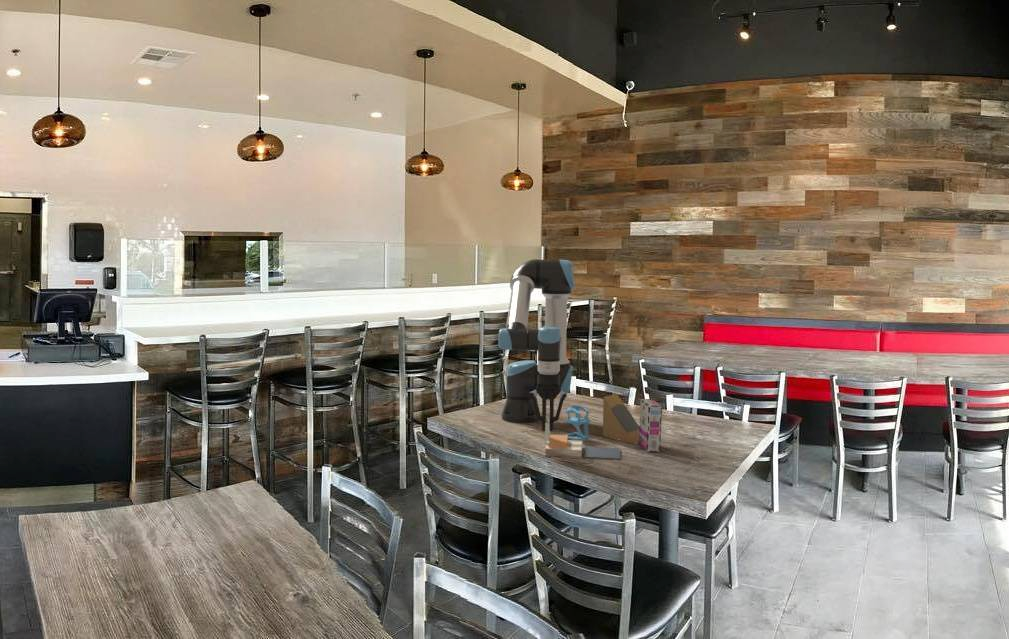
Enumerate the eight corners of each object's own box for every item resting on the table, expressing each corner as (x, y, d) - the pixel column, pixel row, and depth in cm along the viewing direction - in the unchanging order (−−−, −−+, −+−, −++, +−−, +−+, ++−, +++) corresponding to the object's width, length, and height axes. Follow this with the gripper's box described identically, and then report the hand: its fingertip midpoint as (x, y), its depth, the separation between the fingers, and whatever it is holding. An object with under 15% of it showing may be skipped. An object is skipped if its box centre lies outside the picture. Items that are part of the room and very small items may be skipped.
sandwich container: (636, 444, 247) (637, 403, 245) (602, 436, 258) (603, 396, 256) (650, 440, 253) (651, 400, 251) (616, 431, 264) (617, 393, 262)
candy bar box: (661, 452, 238) (662, 405, 236) (646, 452, 237) (648, 405, 235) (651, 443, 249) (653, 398, 247) (638, 443, 248) (639, 398, 247)
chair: (580, 443, 248) (580, 410, 247) (561, 438, 254) (562, 406, 252) (592, 438, 254) (593, 406, 252) (574, 434, 259) (575, 403, 258)
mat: (585, 447, 242) (585, 446, 242) (619, 449, 241) (619, 447, 241) (584, 458, 231) (584, 456, 230) (620, 459, 229) (620, 458, 229)
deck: (547, 445, 244) (548, 438, 244) (582, 447, 242) (582, 440, 242) (545, 456, 232) (545, 448, 232) (581, 457, 231) (581, 450, 230)
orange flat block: (550, 440, 242) (550, 434, 242) (567, 441, 241) (567, 435, 241) (548, 447, 233) (548, 441, 233) (566, 448, 233) (566, 442, 232)
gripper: (528, 373, 232) (527, 442, 235) (567, 375, 230) (565, 444, 233) (530, 369, 240) (529, 436, 242) (568, 371, 238) (567, 438, 240)
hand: (547, 440), depth 238 cm, fingers closed
